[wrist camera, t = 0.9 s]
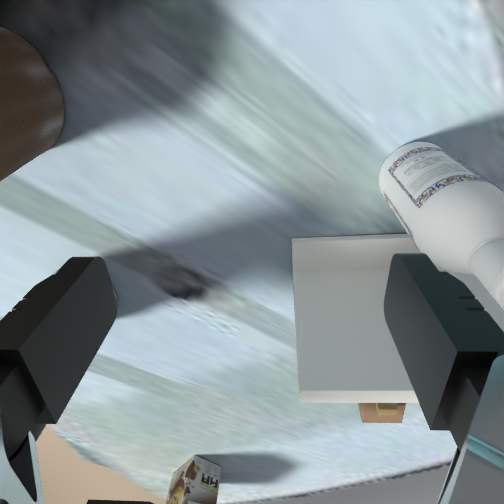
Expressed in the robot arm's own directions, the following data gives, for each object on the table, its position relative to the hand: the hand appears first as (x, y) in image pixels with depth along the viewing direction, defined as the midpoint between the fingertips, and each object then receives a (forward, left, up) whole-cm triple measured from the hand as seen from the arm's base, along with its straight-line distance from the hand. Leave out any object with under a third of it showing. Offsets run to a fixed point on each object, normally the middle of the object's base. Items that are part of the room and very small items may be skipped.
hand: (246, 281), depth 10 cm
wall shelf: (-9, -22, -29) cm, 37 cm away
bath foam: (+3, -16, -29) cm, 33 cm away
